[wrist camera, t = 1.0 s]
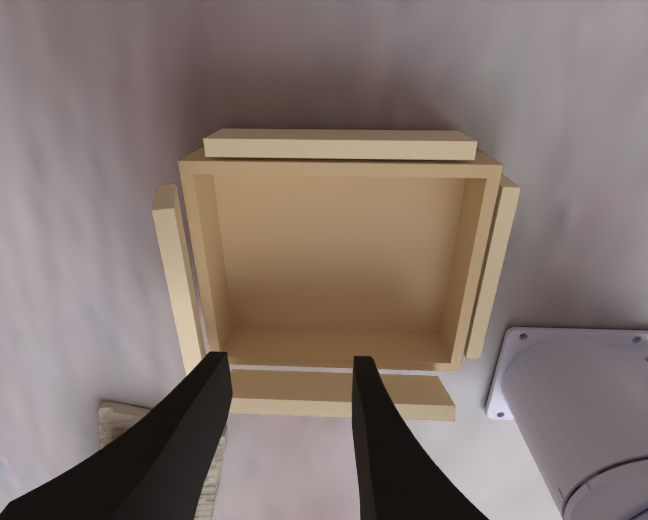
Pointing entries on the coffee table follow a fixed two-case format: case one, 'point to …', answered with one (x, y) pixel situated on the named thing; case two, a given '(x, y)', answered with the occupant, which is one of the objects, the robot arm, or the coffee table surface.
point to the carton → (347, 245)
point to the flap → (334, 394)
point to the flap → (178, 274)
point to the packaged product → (124, 416)
